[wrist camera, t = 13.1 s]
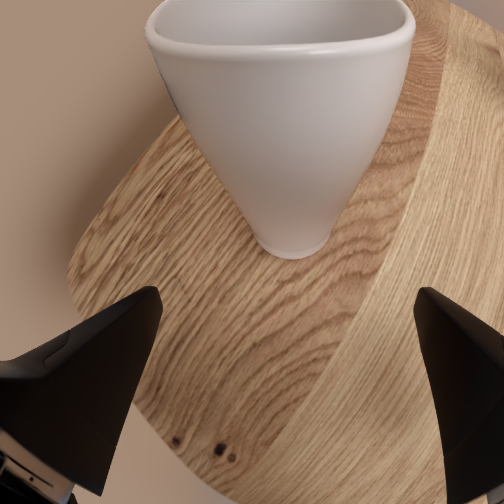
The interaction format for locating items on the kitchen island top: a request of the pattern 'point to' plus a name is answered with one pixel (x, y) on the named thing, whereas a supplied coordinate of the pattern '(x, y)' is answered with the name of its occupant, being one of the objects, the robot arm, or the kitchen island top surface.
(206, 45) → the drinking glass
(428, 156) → the kitchen island top surface
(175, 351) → the kitchen island top surface
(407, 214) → the kitchen island top surface
